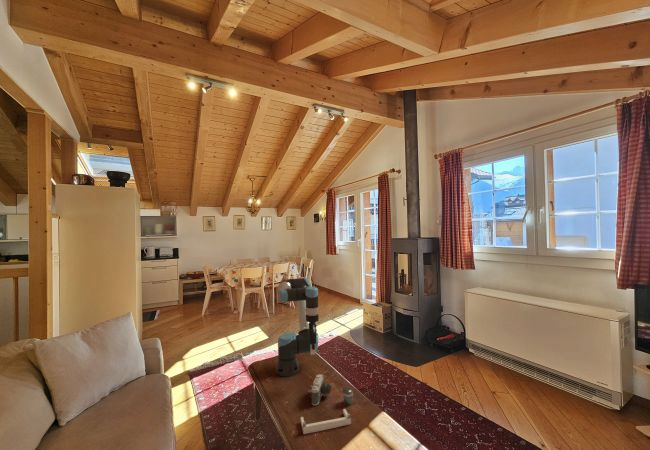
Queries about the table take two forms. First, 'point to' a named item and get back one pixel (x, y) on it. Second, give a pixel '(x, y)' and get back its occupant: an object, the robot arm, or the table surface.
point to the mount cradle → (326, 424)
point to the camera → (319, 389)
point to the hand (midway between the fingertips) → (313, 354)
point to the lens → (347, 396)
